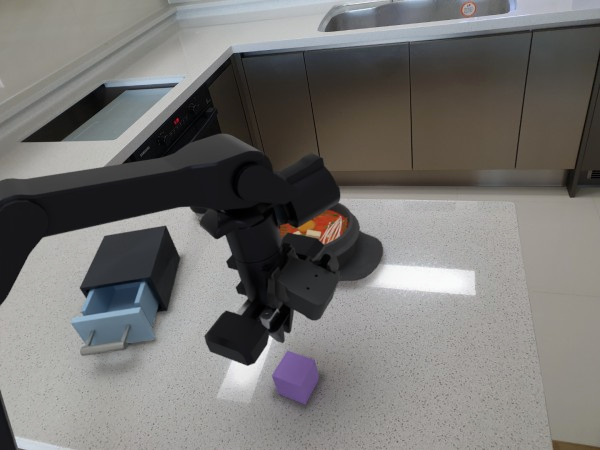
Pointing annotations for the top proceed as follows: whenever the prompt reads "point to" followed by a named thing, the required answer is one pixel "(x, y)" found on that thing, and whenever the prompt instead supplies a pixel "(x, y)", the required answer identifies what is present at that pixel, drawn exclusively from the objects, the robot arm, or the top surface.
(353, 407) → the top surface
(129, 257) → the black drawer cabinet
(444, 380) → the top surface
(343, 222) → the casserole
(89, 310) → the blue drawer
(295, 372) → the block
